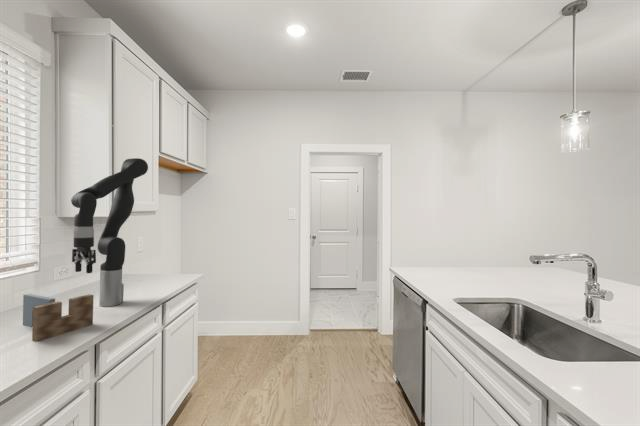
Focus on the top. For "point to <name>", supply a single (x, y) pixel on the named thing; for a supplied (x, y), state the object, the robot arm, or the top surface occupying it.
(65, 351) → the top surface
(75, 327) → the walnut board
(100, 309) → the top surface
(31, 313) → the slate plate
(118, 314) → the top surface
